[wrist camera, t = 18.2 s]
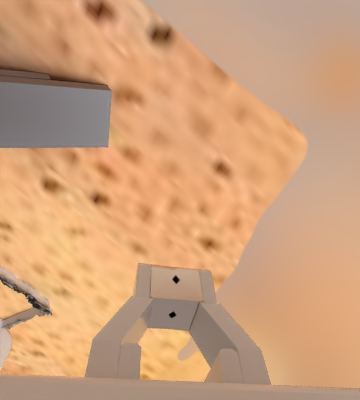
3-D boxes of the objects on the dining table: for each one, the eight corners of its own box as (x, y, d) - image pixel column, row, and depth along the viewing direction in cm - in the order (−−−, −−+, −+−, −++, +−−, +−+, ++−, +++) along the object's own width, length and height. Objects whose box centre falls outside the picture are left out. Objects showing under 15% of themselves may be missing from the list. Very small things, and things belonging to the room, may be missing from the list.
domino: (103, 139, 28) (-24, 139, 23) (106, 85, 25) (-37, 72, 20) (108, 147, 26) (-26, 147, 22) (111, 90, 24) (-40, 78, 19)
